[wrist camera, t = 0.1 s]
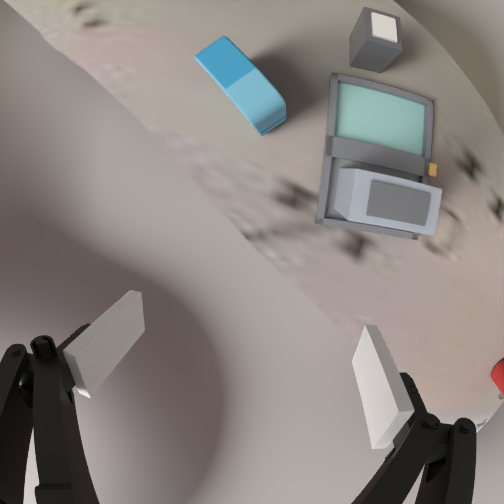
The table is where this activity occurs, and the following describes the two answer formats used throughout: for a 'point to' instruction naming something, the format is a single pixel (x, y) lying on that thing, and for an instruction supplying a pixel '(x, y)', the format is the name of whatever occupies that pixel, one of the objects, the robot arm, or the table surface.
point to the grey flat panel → (373, 142)
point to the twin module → (387, 201)
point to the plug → (375, 40)
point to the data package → (243, 84)
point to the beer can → (499, 375)
